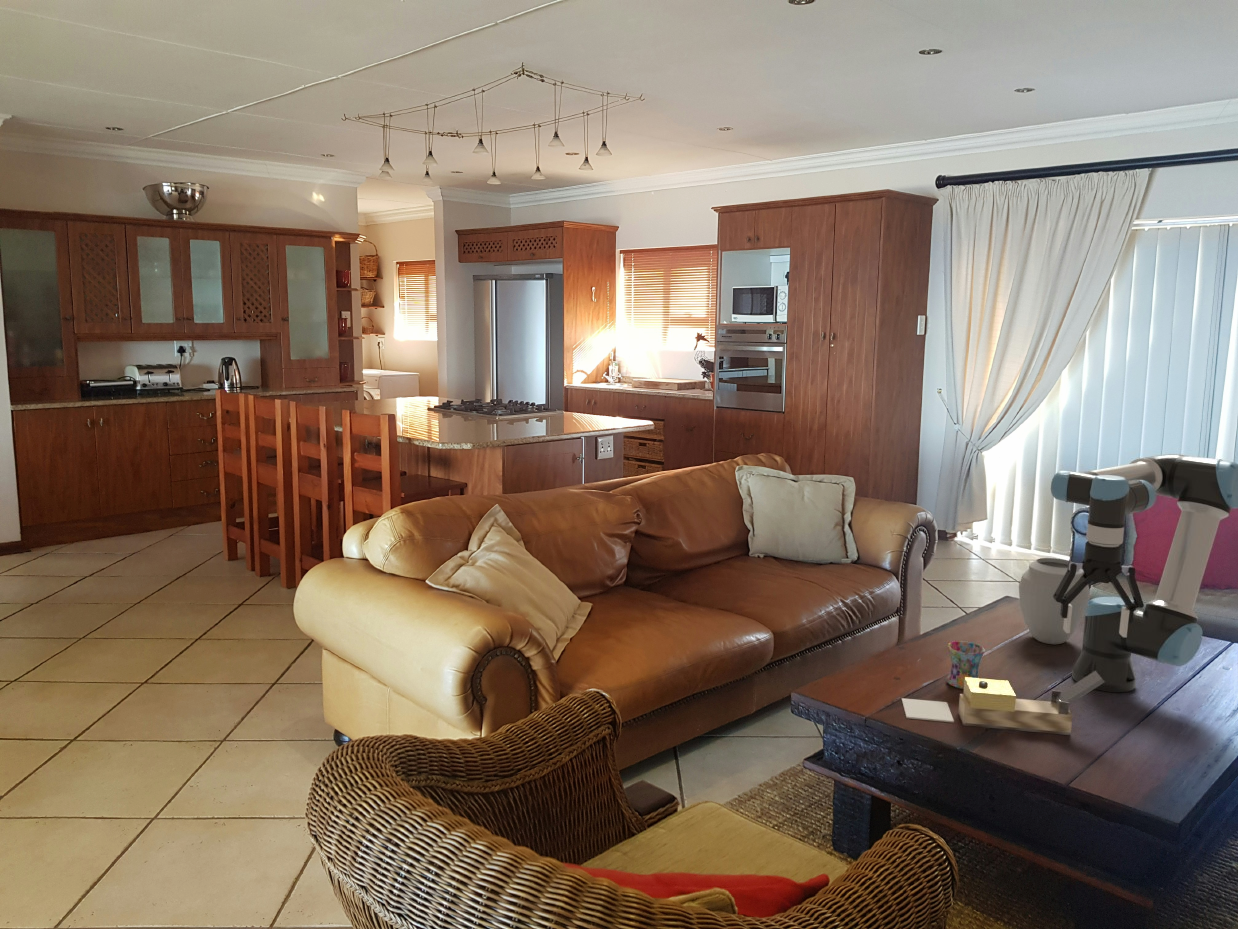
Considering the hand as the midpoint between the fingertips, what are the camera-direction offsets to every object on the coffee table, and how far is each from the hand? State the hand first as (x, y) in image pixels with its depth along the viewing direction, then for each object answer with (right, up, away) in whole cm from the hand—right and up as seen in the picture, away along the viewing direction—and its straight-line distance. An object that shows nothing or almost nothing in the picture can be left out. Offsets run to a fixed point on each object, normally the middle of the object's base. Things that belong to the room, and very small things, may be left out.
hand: (1094, 633), depth 214 cm
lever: (-6, -17, +4) cm, 19 cm away
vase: (+20, -14, +65) cm, 69 cm away
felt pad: (-35, -22, +13) cm, 43 cm away
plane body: (-16, -23, +7) cm, 29 cm away
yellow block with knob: (-22, -18, +7) cm, 29 cm away
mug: (-19, -19, +31) cm, 41 cm away
